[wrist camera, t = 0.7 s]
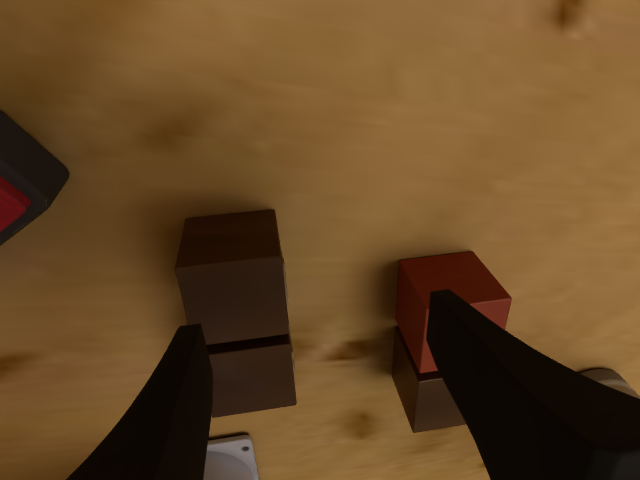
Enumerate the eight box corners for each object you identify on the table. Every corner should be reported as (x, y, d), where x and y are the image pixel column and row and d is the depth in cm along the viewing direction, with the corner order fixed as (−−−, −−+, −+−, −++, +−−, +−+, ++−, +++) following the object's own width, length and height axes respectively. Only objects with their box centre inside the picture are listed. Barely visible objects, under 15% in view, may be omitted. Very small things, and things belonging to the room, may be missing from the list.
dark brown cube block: (290, 345, 27) (298, 405, 24) (215, 356, 27) (211, 418, 23) (284, 288, 25) (292, 343, 21) (202, 298, 24) (196, 357, 21)
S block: (464, 309, 28) (499, 362, 24) (395, 319, 27) (419, 374, 24) (474, 250, 26) (514, 297, 22) (398, 259, 25) (426, 309, 21)
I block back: (455, 366, 31) (485, 421, 27) (391, 376, 30) (413, 433, 26) (463, 317, 28) (497, 369, 25) (394, 326, 28) (418, 381, 24)
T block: (283, 279, 25) (291, 334, 21) (200, 289, 24) (193, 347, 20) (276, 208, 22) (284, 255, 19) (185, 218, 22) (173, 268, 18)
